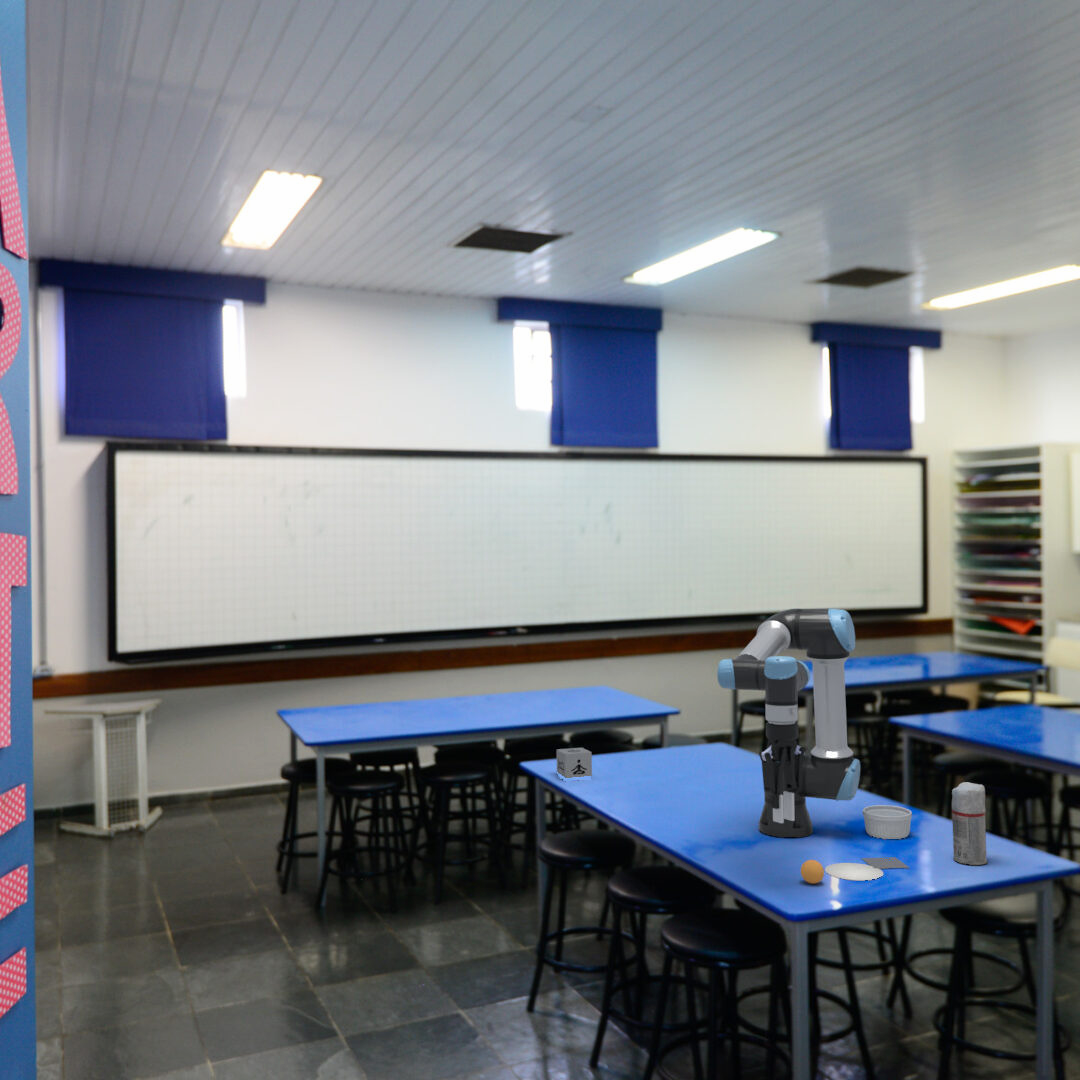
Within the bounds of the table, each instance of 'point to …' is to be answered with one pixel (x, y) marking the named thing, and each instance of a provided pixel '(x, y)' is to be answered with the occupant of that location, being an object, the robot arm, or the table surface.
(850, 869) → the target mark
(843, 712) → the robot arm
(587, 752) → the icon cube
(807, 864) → the ball
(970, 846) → the spray can
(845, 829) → the table surface
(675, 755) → the table surface
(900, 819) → the ramekin
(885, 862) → the far mark
